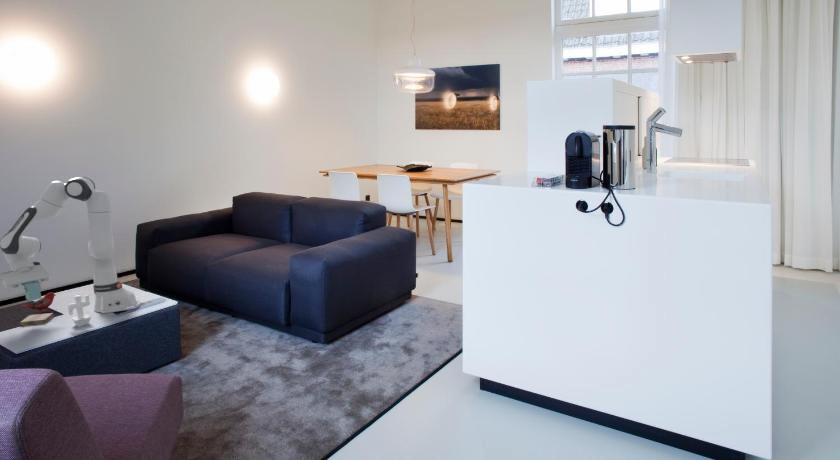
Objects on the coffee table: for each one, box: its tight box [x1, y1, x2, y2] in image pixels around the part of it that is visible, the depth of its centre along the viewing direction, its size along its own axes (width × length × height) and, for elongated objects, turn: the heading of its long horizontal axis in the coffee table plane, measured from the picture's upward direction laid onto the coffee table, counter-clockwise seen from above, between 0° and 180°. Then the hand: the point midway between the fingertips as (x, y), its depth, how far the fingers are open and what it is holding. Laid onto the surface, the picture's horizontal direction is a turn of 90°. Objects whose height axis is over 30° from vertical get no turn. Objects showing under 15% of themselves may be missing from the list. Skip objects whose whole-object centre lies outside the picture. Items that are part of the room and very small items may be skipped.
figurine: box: [67, 294, 92, 328], centre depth 279 cm, size 7×9×15 cm
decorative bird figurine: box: [18, 291, 56, 314], centre depth 300 cm, size 3×18×10 cm, turn 136°
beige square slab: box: [20, 312, 55, 327], centre depth 287 cm, size 11×11×2 cm
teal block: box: [23, 282, 42, 302], centre depth 285 cm, size 5×5×8 cm
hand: (32, 290), depth 284 cm, fingers closed on teal block, 5 cm apart
